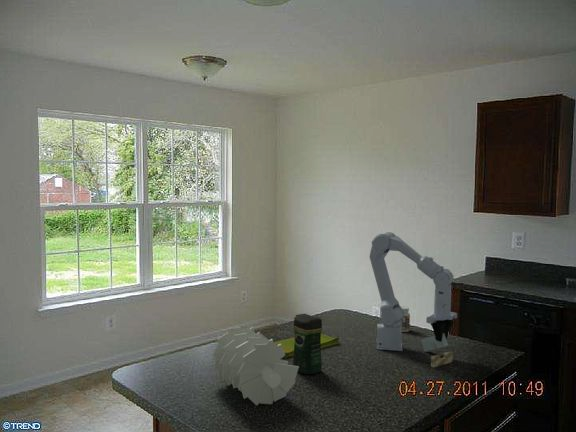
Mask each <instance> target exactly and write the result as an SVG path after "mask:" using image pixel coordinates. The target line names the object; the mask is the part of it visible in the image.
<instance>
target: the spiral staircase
mask: <svg viewBox="0 0 576 432" xmlns="http://www.w3.org/2000/svg"><path fill="white" fill-rule="evenodd" d="M217 342H218V344H217V345H216V347H215V348H214V350H213V352H212V356H214V357H215V358H214V366H213V369H214V370H216V371H217V375H218V377H221V378H222V379H225V381H226V384H227V386H230V385H232V388H233V389H236V388H237V389H238V391H239V392H241V393H242V398H243V399H244V400H245V399H246V398H248V399H249V400H250V401H251V402H252V403H253V404H254V405H255V406H258V405H259V404H262V405H263V404H264V405H273V403H274V402H277V401H279V400H281V399H283V398H285V397H287V393H289V391H290V390H291V389H292V387H293V386H294V385H295V384H296V379H297V378H296V377H297V374H298V372H299V371H298V368H299V366H293V364H292V365H291V364H289V361H288V360H285V359H281V358H282V357H284V356H285V353H284V350H283V348H282V345H281V344H279V345H276V344H274V342H275V341H274V340H273V338H271V339H269V338H267V337H266V336H265V335H263V334H262V333H261V331H258V332H257V333H256V332H255V329H254V327H250V328H248V327H247V326H245V325H244V324H240V325H239V326H238V327H228V328H227V332H226V333H224V334H223V335H221V336H220V337H218V338H217ZM280 359H281V360H280Z"/></svg>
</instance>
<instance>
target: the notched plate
mask: <svg viewBox="0 0 576 432" xmlns="http://www.w3.org/2000/svg"><path fill="white" fill-rule="evenodd" d="M420 343H421V345H422V348H423V351H424V352H428V351H432V350H435V349H440V348H444V347H448V346H449V343H448V339H447V340H446V337H445V334H444V333H443V336H442V341H441V342H440V341H437V340H436V339H435V335H431V336H428V337H424V338H420Z"/></svg>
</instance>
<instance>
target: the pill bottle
mask: <svg viewBox="0 0 576 432" xmlns="http://www.w3.org/2000/svg"><path fill="white" fill-rule="evenodd" d="M400 307H401V308H402V309H403V311H404V317H403V318H402V319H401V323H402V333H407V332H409V331H410V327H411V325H410V323H411V319H410V318H411V314H410V313H409V310H410V308H409V307H407V306H401V305H400Z"/></svg>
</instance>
